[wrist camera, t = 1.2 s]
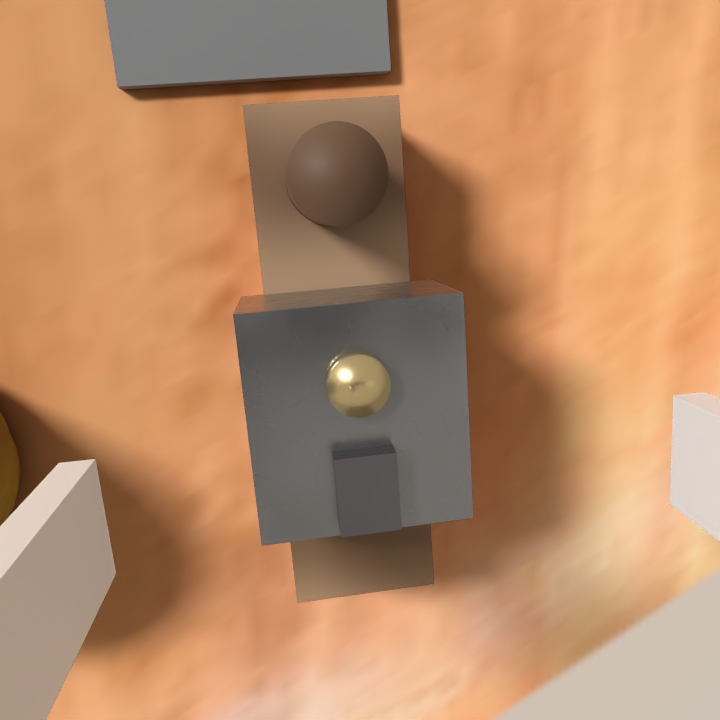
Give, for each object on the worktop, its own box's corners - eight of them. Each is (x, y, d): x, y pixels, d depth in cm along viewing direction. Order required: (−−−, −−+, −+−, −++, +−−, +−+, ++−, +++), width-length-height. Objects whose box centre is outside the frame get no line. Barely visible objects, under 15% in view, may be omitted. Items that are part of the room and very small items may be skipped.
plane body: (405, 516, 29) (451, 625, 21) (293, 530, 29) (299, 648, 21) (378, 115, 25) (422, 71, 18) (249, 124, 25) (235, 82, 17)
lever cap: (441, 468, 24) (480, 528, 19) (264, 490, 23) (261, 557, 19) (431, 279, 22) (470, 295, 18) (241, 296, 22) (231, 317, 17)
